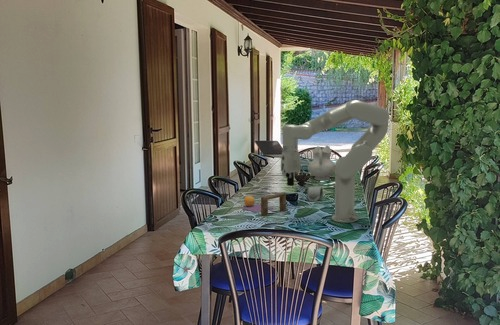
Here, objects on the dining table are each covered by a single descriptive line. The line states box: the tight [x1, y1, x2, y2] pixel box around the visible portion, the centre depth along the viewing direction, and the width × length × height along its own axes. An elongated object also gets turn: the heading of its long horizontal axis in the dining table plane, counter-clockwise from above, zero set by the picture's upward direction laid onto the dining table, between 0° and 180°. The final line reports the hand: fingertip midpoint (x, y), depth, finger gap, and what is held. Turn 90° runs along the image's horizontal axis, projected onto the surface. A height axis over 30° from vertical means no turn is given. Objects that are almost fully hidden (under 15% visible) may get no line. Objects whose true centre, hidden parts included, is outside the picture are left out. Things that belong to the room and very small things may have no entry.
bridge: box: [260, 192, 287, 217], centre depth 238 cm, size 3×15×10 cm, turn 128°
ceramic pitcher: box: [308, 145, 336, 182], centre depth 326 cm, size 22×20×25 cm
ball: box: [243, 195, 256, 207], centre depth 253 cm, size 6×6×6 cm
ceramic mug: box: [306, 186, 324, 203], centre depth 265 cm, size 11×8×8 cm
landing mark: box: [241, 203, 274, 213], centre depth 249 cm, size 13×13×1 cm
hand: (290, 185), depth 226 cm, fingers closed
